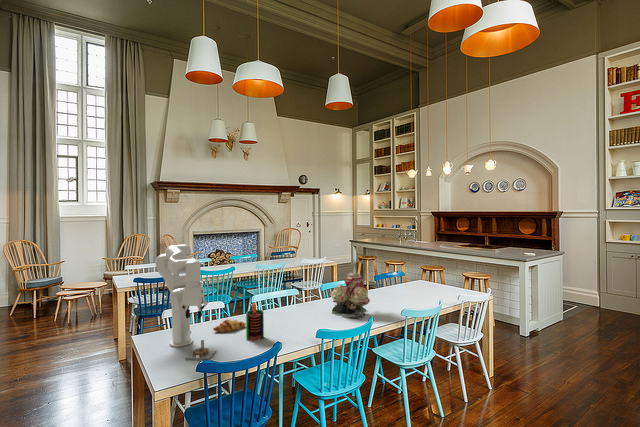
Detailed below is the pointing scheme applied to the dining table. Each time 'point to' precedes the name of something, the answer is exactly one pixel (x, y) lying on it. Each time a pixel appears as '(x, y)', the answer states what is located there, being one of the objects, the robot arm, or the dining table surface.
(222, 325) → the croissant
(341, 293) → the rose bouquet
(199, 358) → the base plate
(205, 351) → the sprocket
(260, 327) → the motor
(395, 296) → the dining table surface
